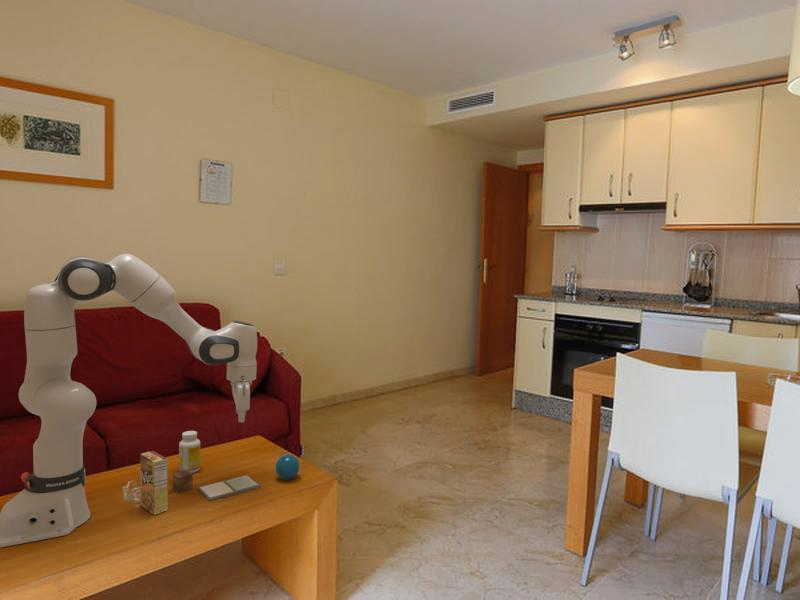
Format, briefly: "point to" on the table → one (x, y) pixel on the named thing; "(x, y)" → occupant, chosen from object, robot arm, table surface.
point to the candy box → (154, 482)
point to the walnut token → (182, 481)
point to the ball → (287, 466)
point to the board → (228, 487)
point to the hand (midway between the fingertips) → (240, 417)
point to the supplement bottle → (189, 452)
